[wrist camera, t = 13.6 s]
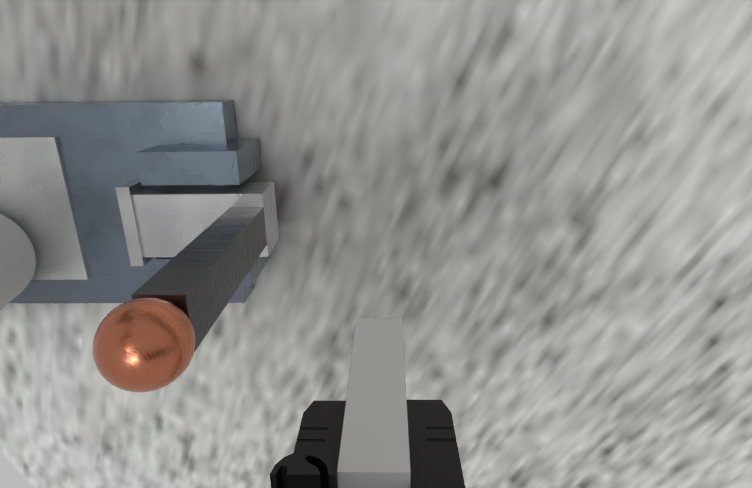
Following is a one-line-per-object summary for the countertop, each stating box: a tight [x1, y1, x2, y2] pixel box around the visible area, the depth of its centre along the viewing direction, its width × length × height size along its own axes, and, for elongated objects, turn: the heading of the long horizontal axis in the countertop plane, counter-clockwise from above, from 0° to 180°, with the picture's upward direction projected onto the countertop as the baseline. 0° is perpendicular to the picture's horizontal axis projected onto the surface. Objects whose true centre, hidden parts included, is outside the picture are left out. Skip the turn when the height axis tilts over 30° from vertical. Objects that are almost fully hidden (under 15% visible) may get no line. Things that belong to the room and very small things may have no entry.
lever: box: [93, 177, 279, 392], centre depth 24 cm, size 5×9×18 cm, turn 91°
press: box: [0, 100, 270, 303], centre depth 33 cm, size 14×26×6 cm, turn 91°
